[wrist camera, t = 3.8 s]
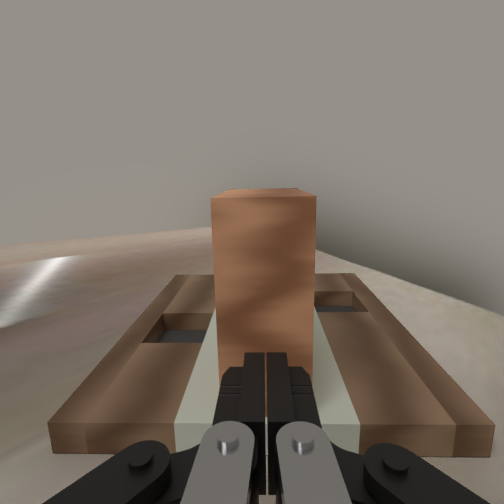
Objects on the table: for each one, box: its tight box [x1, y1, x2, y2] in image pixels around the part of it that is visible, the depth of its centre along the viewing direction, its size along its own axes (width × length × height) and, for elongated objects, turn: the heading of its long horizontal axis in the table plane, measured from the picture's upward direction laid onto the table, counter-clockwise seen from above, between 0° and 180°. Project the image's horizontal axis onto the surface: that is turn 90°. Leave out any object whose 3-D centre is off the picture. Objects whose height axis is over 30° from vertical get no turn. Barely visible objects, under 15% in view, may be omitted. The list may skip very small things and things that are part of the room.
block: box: [211, 188, 316, 417], centre depth 22 cm, size 5×10×12 cm, turn 178°
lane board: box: [48, 273, 495, 457], centre depth 32 cm, size 24×28×4 cm
